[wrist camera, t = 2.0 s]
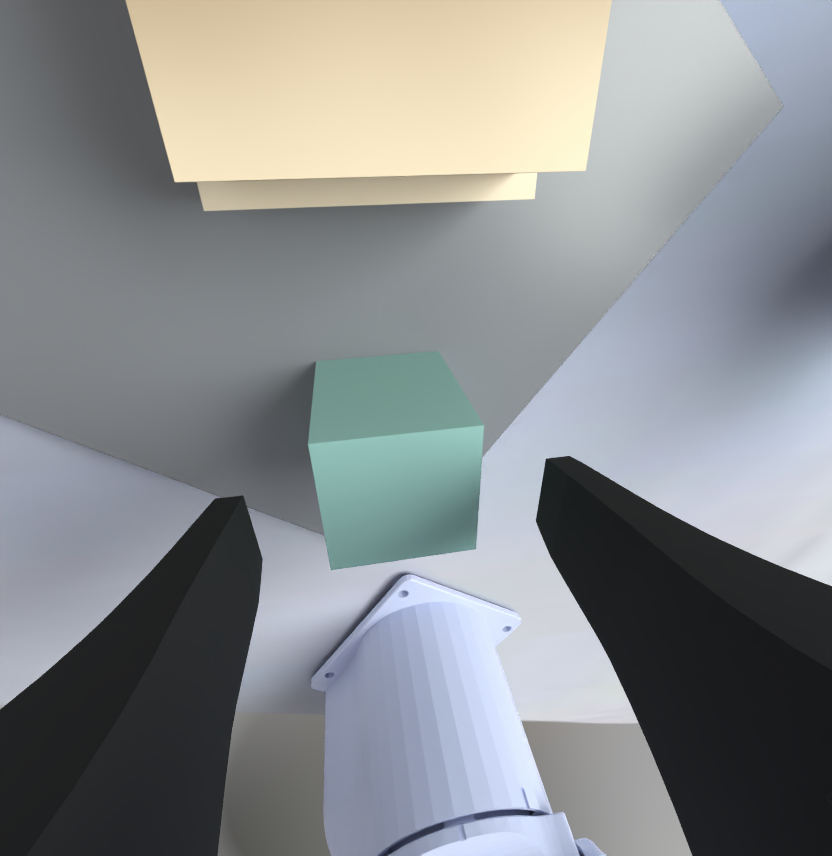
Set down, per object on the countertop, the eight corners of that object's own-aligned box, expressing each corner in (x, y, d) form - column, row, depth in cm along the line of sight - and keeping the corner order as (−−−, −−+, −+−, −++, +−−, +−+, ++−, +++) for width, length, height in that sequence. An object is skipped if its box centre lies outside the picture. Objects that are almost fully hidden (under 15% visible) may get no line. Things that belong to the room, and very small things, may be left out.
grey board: (390, 544, 19) (393, 560, 19) (-85, 358, 13) (-116, 371, 12) (753, 111, 13) (783, 106, 12) (180, -780, 6) (154, -941, 5)
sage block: (438, 451, 16) (475, 548, 12) (331, 463, 16) (331, 570, 11) (438, 351, 14) (483, 425, 10) (316, 361, 14) (307, 444, 9)
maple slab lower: (491, 195, 12) (534, 199, 9) (233, 204, 11) (203, 211, 9) (514, -206, 8) (594, -374, 6) (138, -241, 8) (37, -459, 5)
